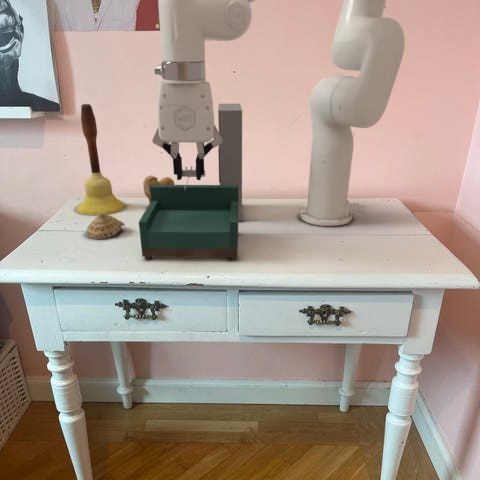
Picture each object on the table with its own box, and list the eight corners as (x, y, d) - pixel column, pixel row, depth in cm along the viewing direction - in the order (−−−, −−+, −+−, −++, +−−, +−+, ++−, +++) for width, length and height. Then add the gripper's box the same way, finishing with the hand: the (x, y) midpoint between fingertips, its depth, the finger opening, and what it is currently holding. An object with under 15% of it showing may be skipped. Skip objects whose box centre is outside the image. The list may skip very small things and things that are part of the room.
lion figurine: (159, 214, 122) (156, 178, 117) (140, 212, 123) (137, 176, 118) (182, 198, 134) (180, 165, 129) (165, 196, 135) (162, 164, 130)
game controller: (202, 174, 100) (202, 161, 99) (214, 189, 90) (214, 175, 89) (175, 176, 99) (174, 163, 97) (184, 191, 89) (183, 177, 88)
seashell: (132, 219, 111) (110, 215, 104) (129, 243, 112) (107, 241, 105) (103, 214, 114) (80, 210, 107) (100, 238, 115) (77, 235, 107)
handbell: (79, 202, 131) (63, 102, 118) (126, 200, 132) (114, 101, 120) (74, 216, 120) (54, 108, 107) (124, 213, 122) (110, 107, 109)
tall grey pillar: (217, 205, 128) (215, 103, 116) (240, 205, 129) (240, 103, 116) (217, 221, 116) (214, 110, 104) (242, 221, 117) (242, 110, 104)
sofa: (238, 233, 109) (238, 185, 104) (237, 260, 96) (237, 206, 90) (155, 232, 110) (151, 184, 104) (142, 260, 96) (136, 206, 90)
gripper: (133, 74, 82) (144, 183, 91) (230, 75, 81) (230, 183, 91) (142, 72, 88) (151, 173, 97) (231, 72, 88) (231, 174, 97)
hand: (189, 177), depth 94 cm, fingers closed on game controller, 3 cm apart
